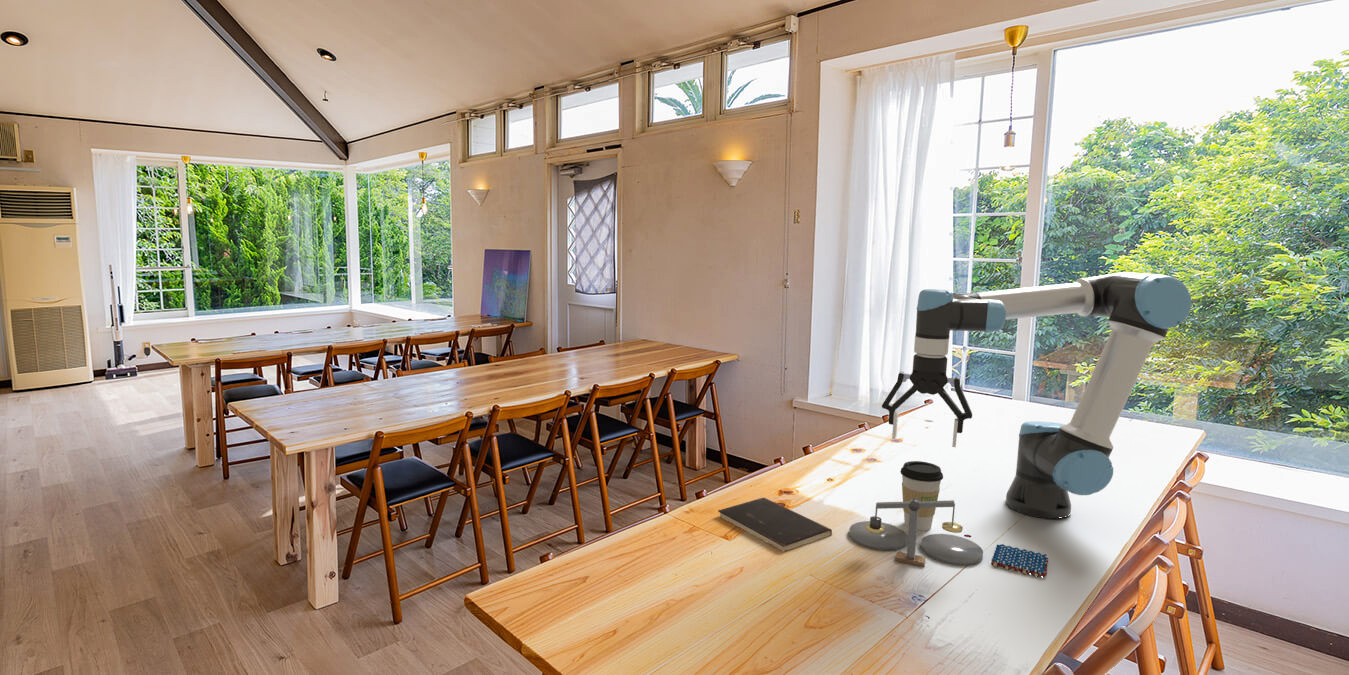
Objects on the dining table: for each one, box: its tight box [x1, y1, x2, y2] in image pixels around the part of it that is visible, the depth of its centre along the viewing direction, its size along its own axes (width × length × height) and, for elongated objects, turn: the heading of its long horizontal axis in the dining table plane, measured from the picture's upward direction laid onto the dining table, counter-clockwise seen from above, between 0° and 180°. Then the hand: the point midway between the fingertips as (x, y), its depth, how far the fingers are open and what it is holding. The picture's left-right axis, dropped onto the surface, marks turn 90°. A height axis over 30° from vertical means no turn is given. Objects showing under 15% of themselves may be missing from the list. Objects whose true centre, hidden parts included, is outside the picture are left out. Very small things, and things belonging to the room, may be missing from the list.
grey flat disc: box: [920, 533, 984, 566], centre depth 152 cm, size 13×13×1 cm
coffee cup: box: [899, 460, 944, 532], centre depth 164 cm, size 10×10×15 cm
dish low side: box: [849, 520, 908, 551], centre depth 158 cm, size 13×13×1 cm
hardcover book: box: [717, 497, 833, 552], centre depth 164 cm, size 16×23×2 cm
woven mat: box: [990, 543, 1049, 577], centre depth 147 cm, size 10×11×2 cm
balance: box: [866, 498, 964, 568], centre depth 146 cm, size 20×4×15 cm, turn 66°
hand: (923, 441), depth 162 cm, fingers open, 13 cm apart
